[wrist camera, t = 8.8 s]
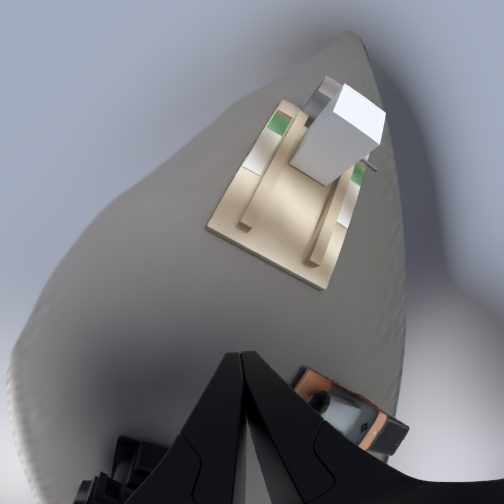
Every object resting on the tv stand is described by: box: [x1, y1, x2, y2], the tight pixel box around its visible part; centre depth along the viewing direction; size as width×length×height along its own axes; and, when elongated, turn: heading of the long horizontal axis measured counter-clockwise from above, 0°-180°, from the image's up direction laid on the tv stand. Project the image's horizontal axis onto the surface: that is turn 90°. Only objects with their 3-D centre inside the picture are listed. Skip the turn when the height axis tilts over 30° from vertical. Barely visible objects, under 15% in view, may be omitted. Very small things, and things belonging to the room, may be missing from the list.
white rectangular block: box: [289, 84, 386, 186], centre depth 21 cm, size 4×8×8 cm, turn 65°
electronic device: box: [293, 367, 409, 456], centre depth 18 cm, size 4×10×8 cm, turn 56°
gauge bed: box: [206, 76, 369, 290], centre depth 22 cm, size 17×11×6 cm, turn 155°
